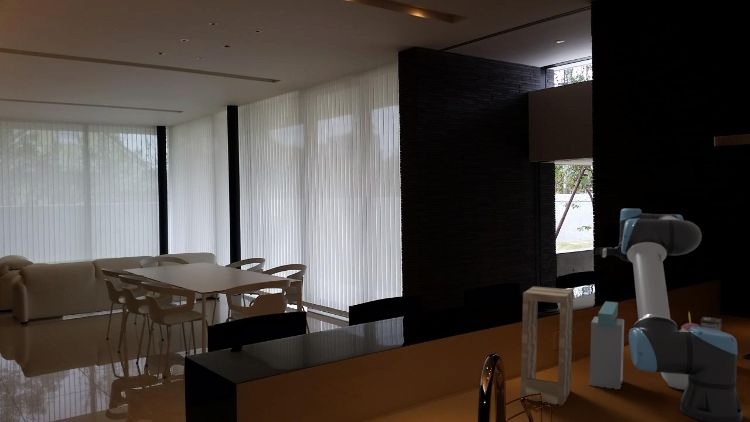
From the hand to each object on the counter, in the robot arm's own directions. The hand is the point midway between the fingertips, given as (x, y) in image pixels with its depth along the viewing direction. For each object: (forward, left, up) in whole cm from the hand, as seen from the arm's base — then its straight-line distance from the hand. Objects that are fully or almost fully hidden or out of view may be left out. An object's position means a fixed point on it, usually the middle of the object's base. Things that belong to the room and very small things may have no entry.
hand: (624, 254), depth 210 cm
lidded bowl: (-17, -11, -40) cm, 45 cm away
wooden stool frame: (-27, +34, -40) cm, 59 cm away
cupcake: (+47, -50, -40) cm, 80 cm away
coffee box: (+10, -36, -40) cm, 55 cm away
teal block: (-13, +11, -20) cm, 26 cm away
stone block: (-15, +11, -40) cm, 44 cm away
